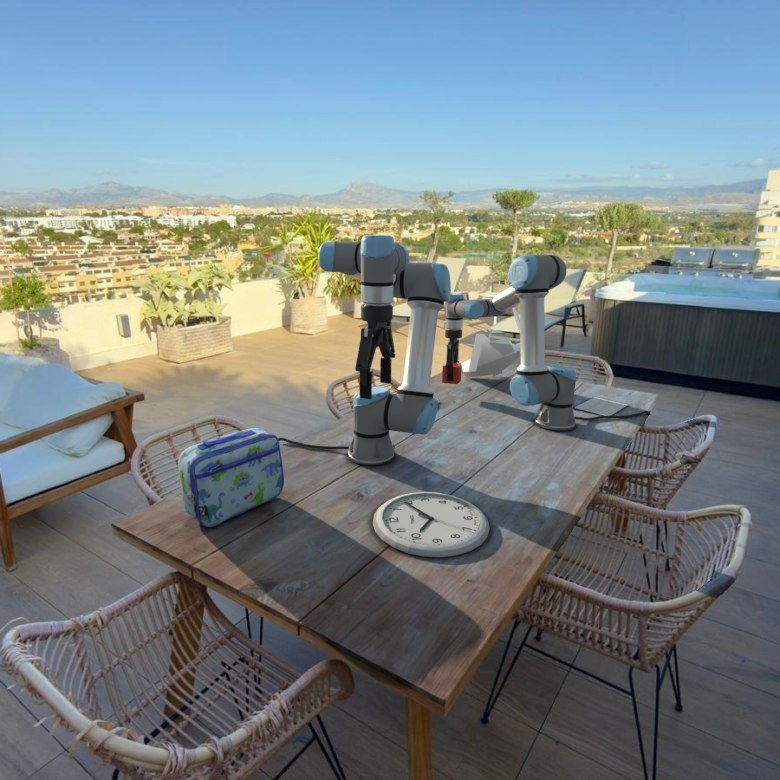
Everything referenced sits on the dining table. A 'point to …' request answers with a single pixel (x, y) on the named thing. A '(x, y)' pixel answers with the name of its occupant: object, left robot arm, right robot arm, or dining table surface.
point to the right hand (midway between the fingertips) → (451, 378)
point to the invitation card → (601, 406)
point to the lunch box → (230, 475)
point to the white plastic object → (492, 355)
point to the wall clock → (431, 524)
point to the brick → (456, 374)
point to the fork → (438, 399)
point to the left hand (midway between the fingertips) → (376, 390)
